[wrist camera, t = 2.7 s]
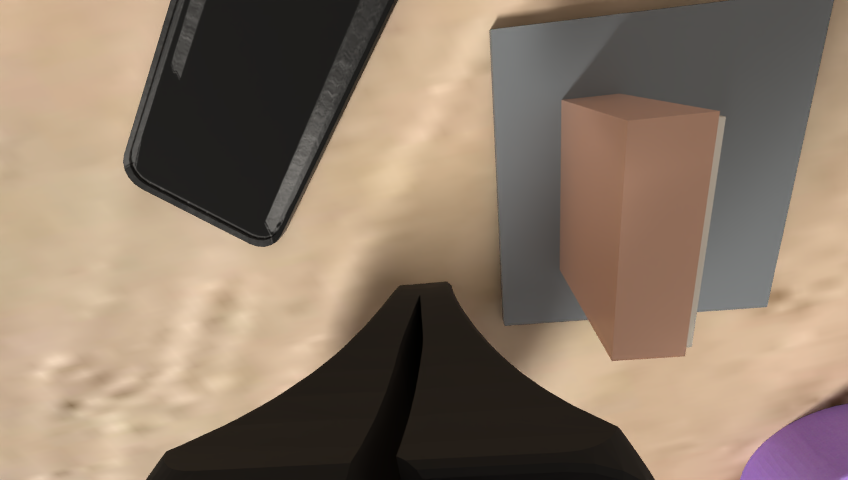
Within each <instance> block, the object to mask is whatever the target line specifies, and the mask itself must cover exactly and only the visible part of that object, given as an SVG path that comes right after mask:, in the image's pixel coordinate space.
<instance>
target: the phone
mask: <svg viewBox="0 0 848 480" xmlns="http://www.w3.org/2000/svg"><path fill="white" fill-rule="evenodd" d="M396 3H397V0H171V1H170V5H169V8H168V11H167V15H166V18H165V21H164V24H163V28H162V31H161V34H160V38H159V41H158V44H157V48H156V51H155V54H154V58H153V61H152V64H151V67H150V71H149V74H148V77H147V81H146V84H145V87H144V91H143V94H142V97H141V101H140V104H139V107H138V110H137V114H136V117H135V120H134V124H133V127H132V130H131V134H130V137H129V140H128V143H127V147H126V150H125V153H124V160H123V164H124V169H125V171H126V173H127V175H128V177H129V178H130V180H131V181H132V182H133V183H134V184H135V185H137V186H138V187H140V188H141V189H143V190H145V191H147V192H149V193H151V194H153V195H155V196H157V197H159V198H161V199H163V200H165V201H167V202H168V203H170V204H172V205H174V206H176V207H178V208H180V209H182V210H184V211H186V212H188V213H190V214H192V215H194V216H196V217H198V218H200V219H202V220H204V221H206V222H208V223H210V224H212V225H214V226H216V227H218V228H220V229H222V230H224V231H226V232H228V233H229V234H231V235H233V236H235V237H237V238H239V239H241V240H243V241H245V242H247V243H249V244H252V245H255V246H260V247H265V246H269V245H272V244H274V243H275V242H277V241H278V240H279V239H280V237H281V236H282V235H283V234H284V233H285V231H286V229H287V227H288V225H289V223H290V221H291V219H292V217H293V215H294V213H295V211H296V209H297V207H298V205H299V203H300V201H301V199H302V196H303V194H304V192H305V190H306V188H307V186H308V184H309V182H310V180H311V178H312V176H313V174H314V172H315V170H316V168H317V166H318V163H319V161H320V159H321V157H322V155H323V153H324V151H325V149H326V147H327V145H328V143H329V141H330V139H331V137H332V135H333V133H334V130H335V128H336V126H337V124H338V122H339V120H340V118H341V116H342V114H343V112H344V110H345V108H346V106H347V104H348V102H349V100H350V97H351V95H352V93H353V91H354V89H355V87H356V85H357V83H358V81H359V79H360V77H361V75H362V73H363V71H364V69H365V67H366V64H367V62H368V60H369V58H370V56H371V54H372V52H373V50H374V48H375V46H376V44H377V42H378V40H379V38H380V36H381V33H382V31H383V29H384V27H385V25H386V23H387V21H388V19H389V17H390V15H391V13H392V11H393V9H394V7H395V5H396Z"/></svg>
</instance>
